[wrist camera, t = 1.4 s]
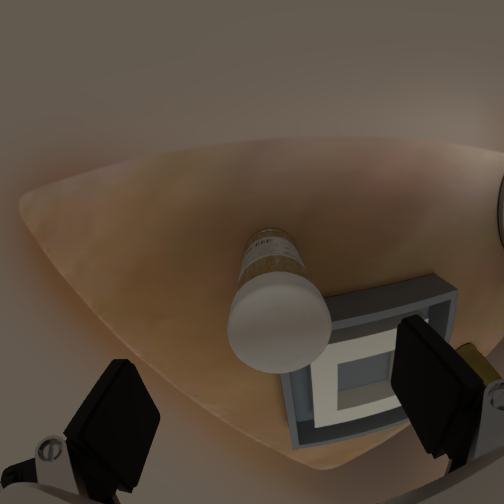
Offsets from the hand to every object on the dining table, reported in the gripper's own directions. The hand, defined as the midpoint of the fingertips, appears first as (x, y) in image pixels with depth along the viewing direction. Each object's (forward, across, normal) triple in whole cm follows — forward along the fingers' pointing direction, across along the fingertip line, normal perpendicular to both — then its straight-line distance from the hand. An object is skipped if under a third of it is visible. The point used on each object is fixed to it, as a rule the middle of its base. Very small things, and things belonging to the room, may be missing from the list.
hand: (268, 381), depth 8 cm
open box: (+16, -9, +14) cm, 23 cm away
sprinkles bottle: (+16, -1, 0) cm, 16 cm away
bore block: (+16, -9, +14) cm, 23 cm away
